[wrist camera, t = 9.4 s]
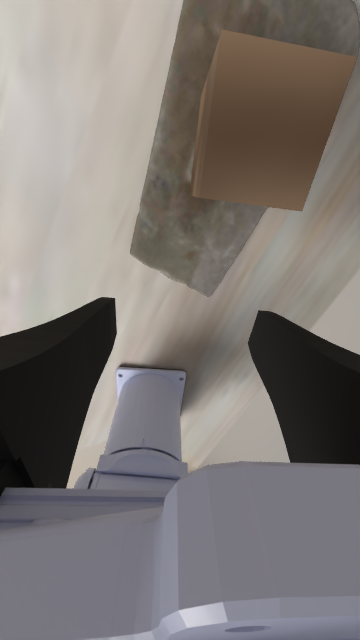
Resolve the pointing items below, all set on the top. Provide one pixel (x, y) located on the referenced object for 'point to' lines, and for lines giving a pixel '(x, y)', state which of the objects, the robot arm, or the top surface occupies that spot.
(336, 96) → the walnut block
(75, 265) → the top surface
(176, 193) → the stone
